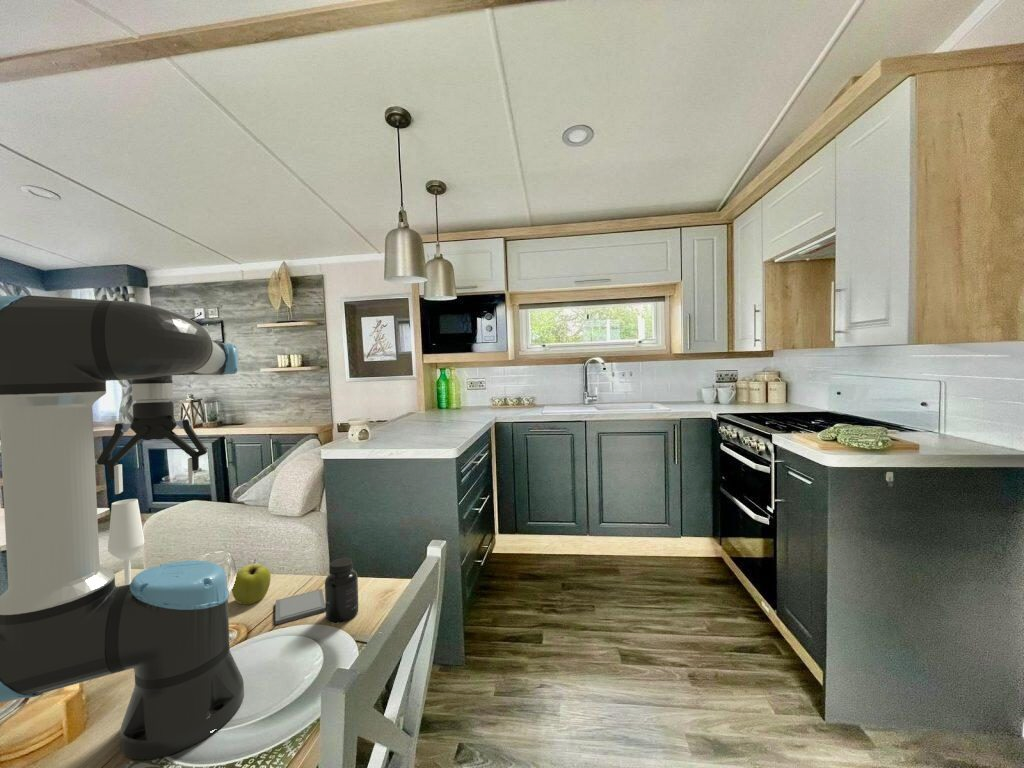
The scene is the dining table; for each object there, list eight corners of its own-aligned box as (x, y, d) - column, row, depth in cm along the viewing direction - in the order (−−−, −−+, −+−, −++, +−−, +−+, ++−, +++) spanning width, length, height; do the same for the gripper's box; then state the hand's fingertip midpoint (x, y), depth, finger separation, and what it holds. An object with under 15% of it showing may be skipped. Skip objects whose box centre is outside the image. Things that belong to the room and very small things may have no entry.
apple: (233, 591, 102) (245, 551, 102) (268, 596, 104) (280, 557, 104) (219, 608, 94) (233, 565, 95) (257, 613, 96) (270, 570, 97)
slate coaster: (326, 610, 94) (325, 607, 94) (275, 624, 89) (275, 620, 89) (321, 591, 102) (321, 588, 102) (275, 603, 97) (275, 599, 97)
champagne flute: (117, 594, 104) (113, 500, 104) (150, 588, 107) (147, 496, 107) (104, 607, 98) (100, 507, 98) (140, 600, 101) (136, 503, 101)
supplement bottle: (318, 621, 90) (316, 567, 89) (340, 605, 96) (338, 554, 96) (344, 626, 87) (343, 570, 87) (365, 609, 94) (363, 557, 94)
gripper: (217, 398, 110) (220, 478, 110) (88, 403, 97) (92, 493, 97) (214, 399, 103) (217, 483, 103) (75, 404, 91) (78, 500, 91)
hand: (156, 488), depth 100 cm, fingers open, 13 cm apart
